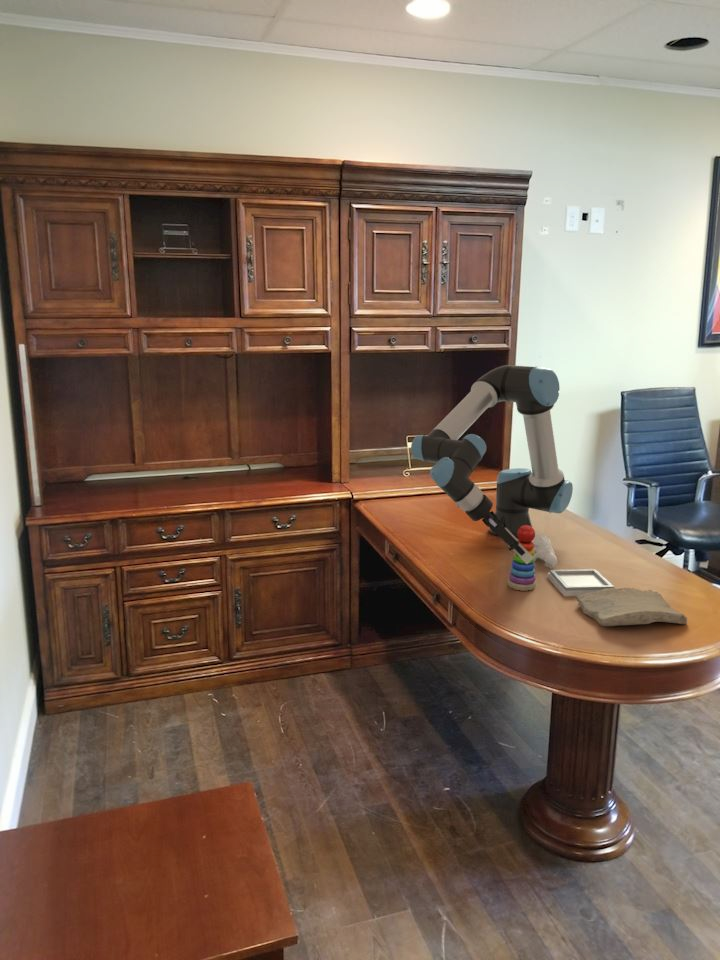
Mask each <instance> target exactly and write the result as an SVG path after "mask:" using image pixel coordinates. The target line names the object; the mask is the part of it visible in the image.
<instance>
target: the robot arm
mask: <svg viewBox="0 0 720 960" xmlns="http://www.w3.org/2000/svg"><path fill="white" fill-rule="evenodd" d="M560 388H561V387H560V381H559V378H558V375H557V374H556V372H554V370H553V369H551V368H547V367H542V366H529V365H528V366H527V365H526V366H524V365H513V364H512V365H511V364H506V365H500V366H498V367H496V368H494V369H491V370H489V371H488V372H486V373H485V374H483V375H481V377H479V378H478V379H477V380H475V382H474V383H473V384H472V385H471V388H470V391H469V392H468V393H467V394H466V396H465V397H464V398H463V399H462V400H461V401H460V402H459V403H458V404H457V405H456V406H455V407H454V408H452V409H451V411H450V412H449V413H448V414H447V415H446V416H445V417H443V419H442V420H441V421H440V422H439V423H438V424H437V425H436V426H435V427H434V428H433V429H432V430H431V431H430V432H429V433H428V434H427V435H425V434H418V435H416V436H414V438H413V439H412V442H411V445H410V452H411V455H412V456H413V458H414V459H416V460H420V461H422V462H428V463H433V464H434V465H432V467H431V468H430V471H429V476H430V478H431V479H432V481H433V482H434V483H435V484H436V485H437V486H438V487H439V488H440V489H441V490H442V492H443V493H444V494H446V495H447V496H448V497H449V498H450V499H451V500H452V501H453V502H455V507H456V508H460V509H461V510H462V511H464V512H465V514H466V515H467V516H468V517H469V518H470V519H471V520H472V521H473V522H478V521H480V520H481V521H482V522H483V524H484V525H485V526H487V527H488V528H489V532H490V533H491V534H492V535H495V536H497V537H500V538H501V539H502V540H503V541H504V543H505V544H506V545H508V547H509V548H508V550H509V552H511V551H513V552H514V553H515V554H517V555H518V556H519V557H520V558H521V559H522V560H523V561H524V562H525V563H526V564H528V563H529V562H530V561H531V560H532V559H533V558H534V557H533V556H532V555H531V554H530V553H529V552H528V551H527V550H526V549H525V548H524V547H523V546H522V545H521V544H520V543H519V542H518V541H519V539H518V536H517V531H518V529H519V528H520V527H521V526H524V525H528V526H531V527H532V528H533V525H532V520H531V517H530V514H529V513H530V512H529V509H532V510H537V511H542V512H548V513H549V514H551V513H552V514H562V513H563V512H564V511H566V510H567V508H568V506H570V505H569V504H570V502H571V499H572V497H573V489H574V488H573V483H572V482H571V481H570V480H568V479H567V480H565V474H564V472H563V470H562V469H560V468H559V464H558V458H557V451H556V443H555V436H554V430H553V422H552V415H551V410H552V409H553V408H554V406H555V404H556V403H557V401H558V399H559V397H560V393H559V391H560ZM501 402H508V403H515V404H516V409H517V412H518V414H520V415H522V417H523V423H524V429H525V430H524V431H525V435H526V441H527V448H528V454H529V459H530V467H531V469H530V468H526V467H525V468H524V467H523V468H518V467H517V468H507V469H502V470H501V471H499V472H498V473H497V479H496V495H495V512H494V511H493V510H492V508H493V505H494V503H493V502H492V500H491V499H490V498H489V497H488V496H487V495H486V494H484V492H483V491H482V490H481V489H480V488H479V487H478V486H477V484H475V482H473V481H472V479H471V478H470V476H471V475H472V474H473V472H474V470H475V469H476V467H477V466H478V465H479V463H480V462H481V461H482V459H483V456H484V455H485V453H486V452H487V444H486V442H485V440H484V439H483V437H481V436H479V435H477V434H474V433H470V434H466V435H465V436H464V437H462V436H463V435H464V433H465V432H466V431H467V430H469V428H470V427H471V426H472V425H474V423H475V422H476V421H477V420H478V419H479V418H480V416H482V415H483V413H484V412H485V411H486V410H488V408H493V407H495V405H496V404H497V403H501ZM461 437H462V439H461V440H459V439H460V438H461Z"/></svg>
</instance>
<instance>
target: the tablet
mask: <svg viewBox="0 0 720 960" xmlns="http://www.w3.org/2000/svg"><path fill="white" fill-rule="evenodd" d="M576 599H577V602H578V604H577V605H578V606H579V607H580V608H581V610H582V613H583V614H585V615H586V616H588V617H590V618H592V619H594V620H595V621H596V622H597V623H598V624H599V625H600V626H602V627H616V626H618V627H619V626H631V625H632V626H636V625H649V624H652V623H655V622H658V623H660V622H661V623H672V624H679V625H687V624H688V617H686V615H685V614H684V613H680V612H678V610H676V609H675V608H673V607H672V606H671V605H670V604H669V602H668V601H666V600H665V599H664V597H663V596H662V594H661V593H659V592H658V591H653V590H651V589H648V590H641V589H637V588H634V587H631V588H630V587H620V588H616V587H614V588H610V589H609V588H607V589H602V590H600V591H596V592H592V593H587V594H583V595H580V596H576Z"/></svg>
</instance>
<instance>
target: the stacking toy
mask: <svg viewBox="0 0 720 960" xmlns="http://www.w3.org/2000/svg"><path fill="white" fill-rule="evenodd" d="M517 536H518V538H517V539H518V540H519V541H518V542H519V543H520V544H521V545H522V546H523V547H524V548H525V549H526V550H527V551H528V552H529V553H530V554H531V555H532V556H533V555H534V550H533V548H534V543H533V542H531V541H532V540H533V539H534V537H535V536H536V531H535V529H534V528H533V526H532V527H531V526H528V525H524V526H521V527H520V528H519V529H518V531H517ZM533 557H534V556H533ZM534 560H535V557H534V558H533V559H532V560H531V561H530V562H529V563H528V564H526V563H525V562H524V561H523V560H522V559H521V558H520V557H519V556H518V555H517V554H516V553H515V554H513V560H512V562H511V567H510V573H509V574H508V575H509V577H508V580H507V584H508V586H509V588H510V589H514V590H515V591H519V590H520V591H522V592H526V591H528V590H529V591H532V590H533V589H535V588H536V580H537V579H536V570H535V567H536V565H535V561H536V560H535V561H534ZM520 591H519V592H520Z"/></svg>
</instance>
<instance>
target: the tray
mask: <svg viewBox="0 0 720 960" xmlns="http://www.w3.org/2000/svg"><path fill="white" fill-rule="evenodd" d="M547 578H548V580H549V581H550V582H551V583H552V585H554V586H555V588H556V589H557V590H558V591H559V592H560V594H562V596H563V597H578V596H580V595H583V594H587V593H592V592H596V591H600V590H602V589H607V588H609V589H610V588H615V586H614V585H613V584H612V583H611V582H610V581H609V580H608V579H607V578H606V577H605V576H603V575H602V573H600V572H599V571H598V570H597V569H595V568H594V569H589V568H588V569H587V568H586V569H585V568H583V569H552V570H551V569H550V570H549V572H547Z"/></svg>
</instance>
